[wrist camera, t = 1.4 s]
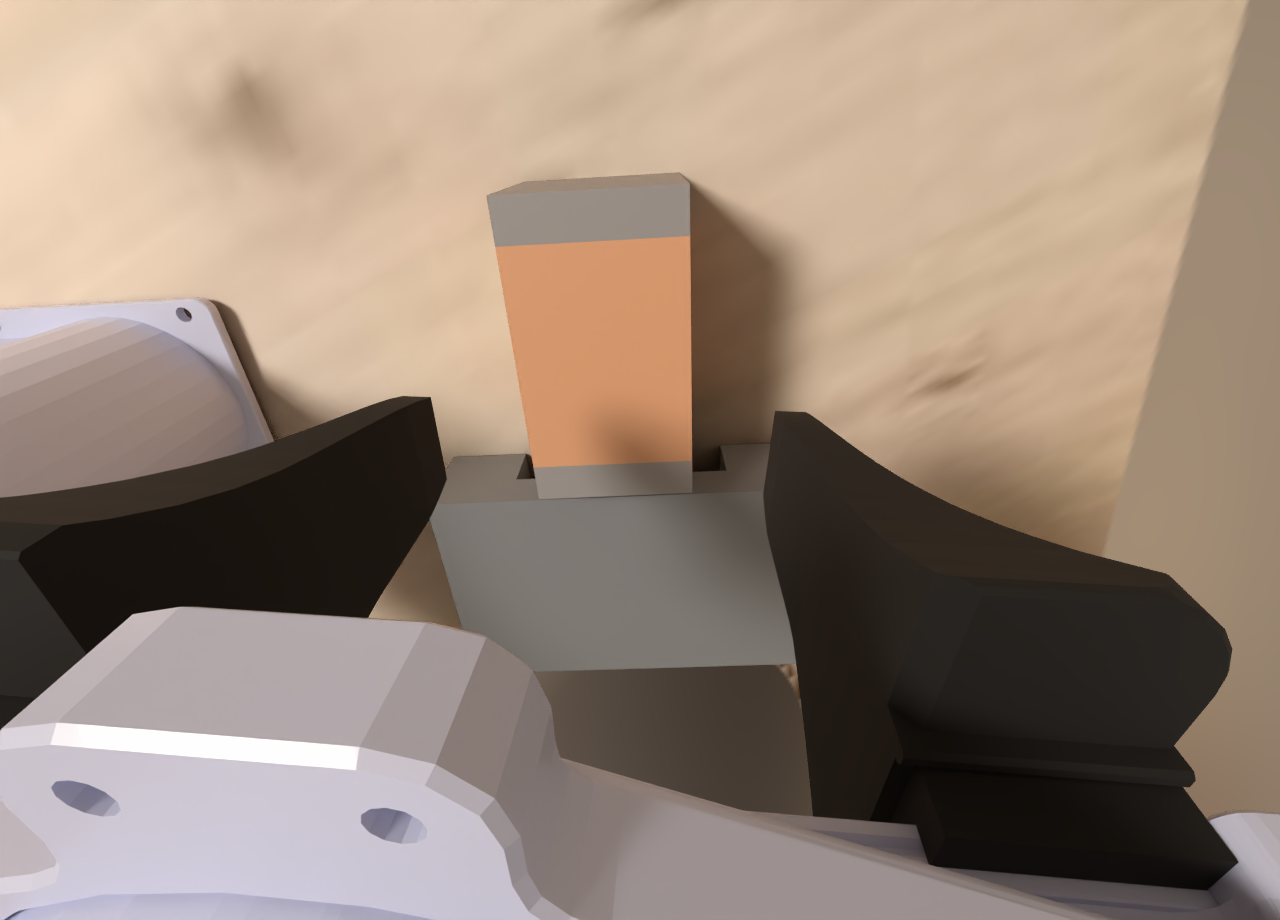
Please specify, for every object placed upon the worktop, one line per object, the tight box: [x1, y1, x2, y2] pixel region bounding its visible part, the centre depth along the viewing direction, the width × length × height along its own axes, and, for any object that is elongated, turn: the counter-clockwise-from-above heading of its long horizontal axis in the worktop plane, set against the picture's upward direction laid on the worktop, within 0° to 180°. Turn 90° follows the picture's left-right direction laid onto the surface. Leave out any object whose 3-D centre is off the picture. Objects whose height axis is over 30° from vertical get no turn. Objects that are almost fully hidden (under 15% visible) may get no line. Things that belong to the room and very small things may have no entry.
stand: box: [430, 443, 796, 672], centre depth 24 cm, size 14×9×4 cm, turn 93°
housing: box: [487, 173, 692, 499], centre depth 18 cm, size 9×5×5 cm, turn 3°
